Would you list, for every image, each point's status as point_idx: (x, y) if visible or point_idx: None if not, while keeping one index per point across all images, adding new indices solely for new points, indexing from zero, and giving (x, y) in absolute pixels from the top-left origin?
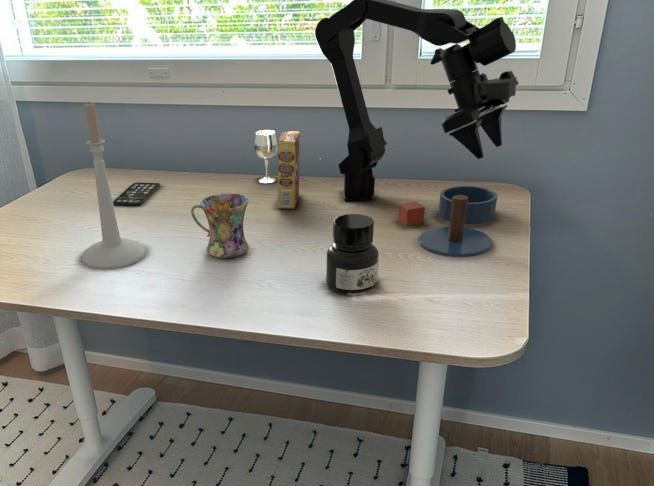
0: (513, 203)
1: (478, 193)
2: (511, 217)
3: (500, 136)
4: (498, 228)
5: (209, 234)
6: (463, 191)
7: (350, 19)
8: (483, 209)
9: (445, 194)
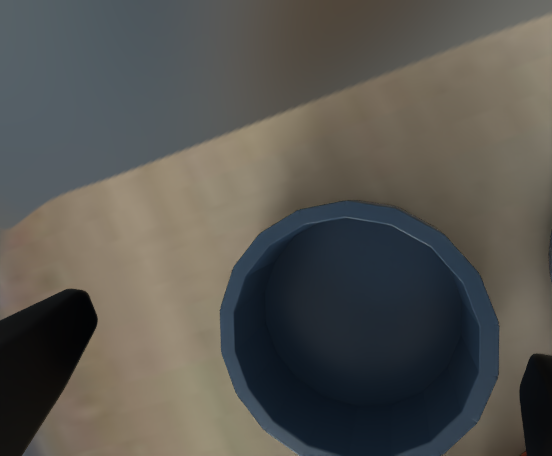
0: (145, 194)
1: (244, 311)
2: (281, 153)
3: (11, 331)
4: (421, 155)
5: None
6: (256, 377)
7: None
8: (437, 229)
9: (342, 444)
